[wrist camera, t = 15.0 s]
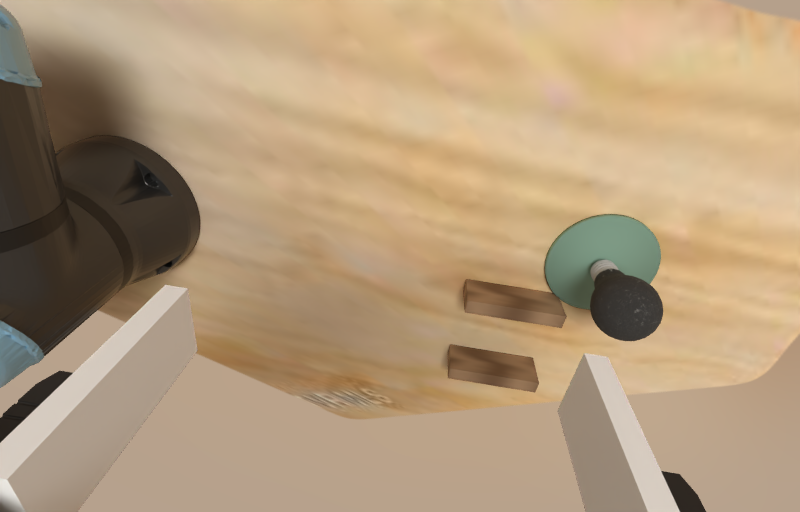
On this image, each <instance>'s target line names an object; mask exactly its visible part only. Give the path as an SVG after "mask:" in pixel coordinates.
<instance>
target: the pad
mask: <svg viewBox="0 0 800 512" xmlns="http://www.w3.org/2000/svg"><path fill="white" fill-rule="evenodd" d="M660 259H661V251H660V246H659V243H658V241H657V239H656V237H655V236H654V234H653V233H652V232H651V231H650V230H649V229H648V228H647V227H646V226H645V225H644V224H643V223H641V222H640V221H638V220H636V219H634V218H631V217H628V216H624V215H617V214H604V215H597V216H593V217H589V218H586V219H584V220H581V221H579V222H577V223H575V224H573V225H572V226H570V227H569V228H567V229H566V230H565V231H564V232H562V233H561V234H560V235H559V236H558V237H557V239H556V240H555V241H554V242H553V244H552V246H551V247H550V249H549V251H548V254H547V257H546V260H545V275H546V279H547V281H548V284H549V286H550V288H551V290H552V291H553V293H554V294H555V295H556V296H557V297H559V299H561V300H562V301H564V302H565V303H567V304H569V305H571V306H574V307H577V308H582V309H590V301H591V296H592V293H593V291H594V289H595V287H594V281H593V279H592V277H591V273H590V270H591V267H592V266H593V264H595V263H596V262H598V261H600V260H609V261H612V262H613V263H614V264H615V265H616V266H617V268H618V269H619V271H621V272H623V273H624V274H625V275H629V276H634V277H637V278H640V279H642V280H644V281H645V282H647V283H648V284H650V283H651V282H652V280H653V279H654V277H655V275H656V273H657V271H658V269H659V265H660Z"/></svg>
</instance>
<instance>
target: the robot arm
mask: <svg viewBox="0 0 800 512" xmlns="http://www.w3.org/2000/svg"><path fill="white" fill-rule="evenodd" d="M40 87H42V82H41V80H40V78H39V77H38V76H36V73H35V70H34V67H33V64H32V61H31V58H30V54H29V51H28V48H27V45H26V42H25V38H24V35H23V32H22V29H21V27H20V25H19V23H18V22H17V20H16V19H15V18H14V16H13V15H12V14H11V13H10V12H9V11H8V10H7V9H6V8H4V7H3V6H2V5H0V388H1V387H3V386H4V385H6V384H7V383H8V382H10V381H11V380H12V379H14V378H15V377H16V376H17V375H19V374H20V373H21V372H23V371H24V370H25V369H26V368H28V367H29V366H31V365H34V364H36V363H39V362H40V361H41V360H42V359H43V358H44V356H45V355H46V354H48V353H49V352H50V351H51V350H52V349H53V348H54V347H55V346H56V345H58V344H59V343H60V342H61V341H62V340H64V339H65V338H66V337H67V336H68V335H69V334H70V333H72V332H73V331H74V330H75V329H76V328H77V327H79V326H80V325H81V324H82V323H83V322H84V321H85V320H87V319H88V318H89V317H90V316H91V315H92V314H93V313H94V312H96V311H97V310H98V309H99V308H100V307H101V306H103V305H104V304H105V303H106V302H107V301H108V300H109V299H111V298H112V297H113V296H114V295H115V294H116V293H117V292H118V291H120V290H121V289H122V288H123V287H125V286H127V285H129V284H132V283H135V282H138V281H141V280H143V279H146V278H149V277H152V276H155V275H158V274H161V273H163V272H166V271H168V270H170V269H171V268H173V267H174V266H176V265H177V264H178V263H179V262H180V261H181V260H183V259H184V258H185V257H186V256H187V255H188V254H189V253H190V252H191V250H192V249H193V248H194V246H195V244H196V242H197V239H198V235H199V229H200V220H199V213H198V209H197V205H196V202H195V200H194V197H193V195H192V193H191V191H190V189H189V188H188V186H187V184H186V183H185V181H184V180H183V179H182V177H181V176H180V175H179V174H178V172H177V171H176V170H175V169H174V168H173V167H172V166H171V165H170V164H169V163H168V162H167V161H166V160H164V159H163V158H162V157H161V156H159V155H158V154H156V153H155V152H153V151H152V150H150V149H149V148H147V147H145V146H143V145H141V144H139V143H136V142H134V141H131V140H128V139H125V138H121V137H116V136H95V137H90V138H87V139H84V140H81V141H79V142H76V143H73V144H70V145H68V146H66V147H65V148H63V149H61V150H60V151H59V152H57V153H56V154H55V151H54V147H53V143H52V139H51V135H50V131H49V126H48V122H47V117H46V113H45V109H44V104H43V100H42V95H41V91H40ZM197 351H198V350H197V344H196V337H195V331H194V324H193V318H192V311H191V305H190V298H189V292H188V288H182V287H176V286H169V285H165V286H164V287H163V288H162V289H160V290H159V291H158V292H157V293H156V294H155V295H154V296H153V297H152V298H151V299H150V300H149V301H148V302H147V303H146V304H145V305H144V306H143V307H142V308H141V309H140V310H139V311H137V312H136V313H135V314H134V315H133V316H132V317H131V318H130V319H129V320H128V321H127V322H126V323H125V324H124V325H123V326H122V327H121V328H120V329H119V330H118V331H117V332H116V333H115V334H113V335H112V336H111V337H110V338H109V339H108V340H107V341H106V342H105V343H104V344H103V345H102V346H101V347H100V348H99V349H98V350H97V351H96V352H95V353H94V354H93V355H92V356H90V357H89V359H87V360H86V361H85V362H84V363H83V364H82V365H81V366H80V367H79V368H78V369H77V370H76V371H75V372H74V373H70V372H64V371H58V372H57V373H55V374H53V375H51V376H50V377H48V378H46V379H44V380H42V381H41V382H39V383H37V384H36V385H35V386H34V387H32V388H31V389H30V390H29V391H28V392H27V393H26V394H25V395H24V396H23V397H21V398H20V399H19V400H18V403H17V404H14V405H12V406H11V407H10V408H9V409H8V410H7V411H6V412H5V413H3V416H2V417H1V418H0V512H78V510H79V509H80V508H81V506H82V505H83V504H84V502H85V501H86V500H87V498H88V497H89V496H90V494H91V493H92V492H93V490H94V489H95V488H96V486H97V485H98V484H99V482H100V481H101V480H102V478H103V477H104V475H105V474H106V473H107V472H108V470H109V469H110V467H111V466H112V465H113V463H114V462H115V461H116V459H117V458H118V457H119V455H120V454H121V453H122V451H123V450H124V449H125V447H126V446H127V445H128V443H129V442H130V440H131V439H132V438H133V437H134V435H135V434H136V433H137V431H138V430H139V428H140V427H141V425H142V424H143V423H144V422H145V420H146V419H147V418H148V416H149V415H150V414H151V412H152V411H153V410H154V408H155V407H156V406H157V404H158V403H159V402H160V400H161V399H162V397H163V396H164V395H165V394H166V392H167V391H168V390H169V388H170V387H171V386H172V384H173V383H174V381H175V380H176V379H177V377H178V376H179V375H180V373H181V372H182V371H183V369H184V368H185V367H186V365H187V364H188V363H189V361H190V360H191V359H192V357H193V356H194V355H195V353H196V352H197ZM558 414H559V417H560V421H561V424H562V428H563V432H564V436H565V439H566V442H567V446H568V450H569V454H570V457H571V460H572V464H573V468H574V472H575V475H576V479H577V483H578V486H579V490H580V493H581V497H582V500H583V504H584V508H585V511H586V512H706V511H705V509H704V507H703V505H702V503H701V501H700V499H699V497H698V495H697V494H696V493H695V492H694V490H693V489H692V488H691V487H690V486H689V485H688V484H687V482H686V481H685V480H684V479H683V478H682V477H681V475H680V474H675V473H669V472H663V471H661V470H660V468H659V466H658V464H657V462H656V459H655V457H654V455H653V453H652V451H651V449H650V447H649V444H648V442H647V440H646V438H645V436H644V434H643V431H642V430H641V427H640V425H639V423H638V421H637V419H636V416H635V414H634V412H633V410H632V408H631V406H630V404H629V401H628V399H627V397H626V395H625V393H624V391H623V388H622V386H621V384H620V382H619V380H618V378H617V376H616V373H615V371H614V369H613V367H612V365H611V363H610V361H609V358H608V357H605V356H599V355H592V354H586V353H584V355H583V357H582V359H581V361H580V363H579V365H578V368H577V370H576V372H575V374H574V376H573V378H572V380H571V383H570V385H569V387H568V389H567V391H566V393H565V396H564V398H563V400H562V402H561V404H560V406H559V408H558Z"/></svg>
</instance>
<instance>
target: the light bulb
mask: <svg viewBox="0 0 800 512" xmlns="http://www.w3.org/2000/svg"><path fill="white" fill-rule="evenodd" d="M590 273H591V277H592V279H593V281H594V287H595V289H594V291H593V293H592V296H591V301H590V311H591V315H592V318H593V320H594V322H595V323H596V325H597V326H598V327H599V329H600V330H601V331H603V332H604V333H605V334H607V335H608V336H610V337H613V338H615V339H618V340H623V341H636V340H639V339H643V338H645V337H647V336H649V335H650V334H652V333H653V332H654V331H655V330H656V329H657V327H658V326H659V324H660V323H661V320H662V316H663V306H662V301H661V299H660V297H659V295H658V293H657V292H656V290H655V289H654V288H653V287H652V286H651V285H650V284H648V283H647V282H645V281H644V280H642V279H640V278H637V277H634V276H629V275H625V274H624V273H623V272H621V271H619V269H618V268H617V266H616V265H615V264H614V263H613V262H612V261H609V260H600V261H598V262H596V263H595V264H593V266H592V267H591V270H590Z"/></svg>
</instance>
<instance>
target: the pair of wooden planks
mask: <svg viewBox="0 0 800 512" xmlns="http://www.w3.org/2000/svg"><path fill="white" fill-rule="evenodd" d="M464 307H465V312H466V313H472V314H478V315H484V316H491V317H497V318H503V319H509V320H515V321H521V322H528V323H534V324H540V325H546V326H552V327H559V328H562V326H563V324H564V321H565V319H566V314H565V312H564V309H563V307H562V304H561V301H560V299H559V297H557V296H556V295H555V294H554V293H549V292H543V291H537V290H531V289H524V288H518V287H512V286H506V285H500V284H493V283H487V282H481V281H475V280H468V279H466V282H465V286H464ZM448 378H451V379H457V380H463V381H469V382H475V383H481V384H487V385H493V386H499V387H505V388H511V389H517V390H524V391H530V392H535V391H536V389H537V387H538V384H539V381H538V377H537V373H536V369H535V365H534V361H533V358H530V357H524V356H518V355H511V354H505V353H499V352H493V351H487V350H481V349H475V348H469V347H463V346H457V345H450V347H449V351H448Z"/></svg>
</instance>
